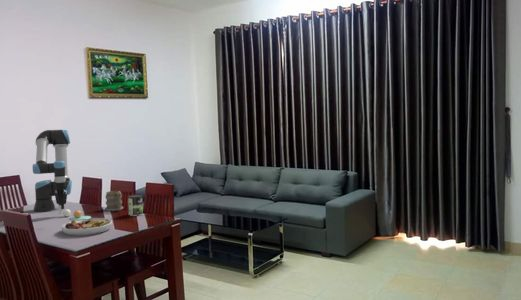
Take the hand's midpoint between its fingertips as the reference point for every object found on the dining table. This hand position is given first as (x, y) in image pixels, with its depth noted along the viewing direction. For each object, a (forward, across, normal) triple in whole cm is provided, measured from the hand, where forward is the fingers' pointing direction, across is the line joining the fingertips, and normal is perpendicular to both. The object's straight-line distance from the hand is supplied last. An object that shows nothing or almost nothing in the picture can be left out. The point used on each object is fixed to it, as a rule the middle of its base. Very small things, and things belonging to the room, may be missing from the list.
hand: (61, 213), depth 319 cm
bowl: (+3, +53, -23) cm, 58 cm away
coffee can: (+2, +49, +25) cm, 55 cm away
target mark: (+2, +20, 0) cm, 20 cm away
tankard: (+2, +22, +32) cm, 39 cm away
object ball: (-1, +17, 0) cm, 17 cm away
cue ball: (-1, +6, 0) cm, 6 cm away
